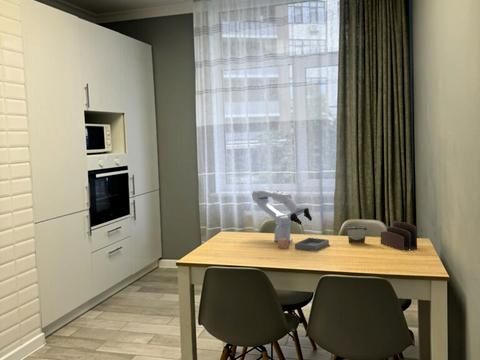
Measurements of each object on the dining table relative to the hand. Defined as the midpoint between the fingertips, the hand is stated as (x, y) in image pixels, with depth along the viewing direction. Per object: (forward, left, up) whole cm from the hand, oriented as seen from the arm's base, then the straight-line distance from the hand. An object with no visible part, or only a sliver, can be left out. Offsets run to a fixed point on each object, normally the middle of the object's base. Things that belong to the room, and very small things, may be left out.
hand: (306, 221), depth 263 cm
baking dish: (+3, +1, -15) cm, 15 cm away
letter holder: (+47, +26, -15) cm, 55 cm away
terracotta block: (-11, -9, -15) cm, 20 cm away
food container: (+21, +25, -15) cm, 36 cm away
